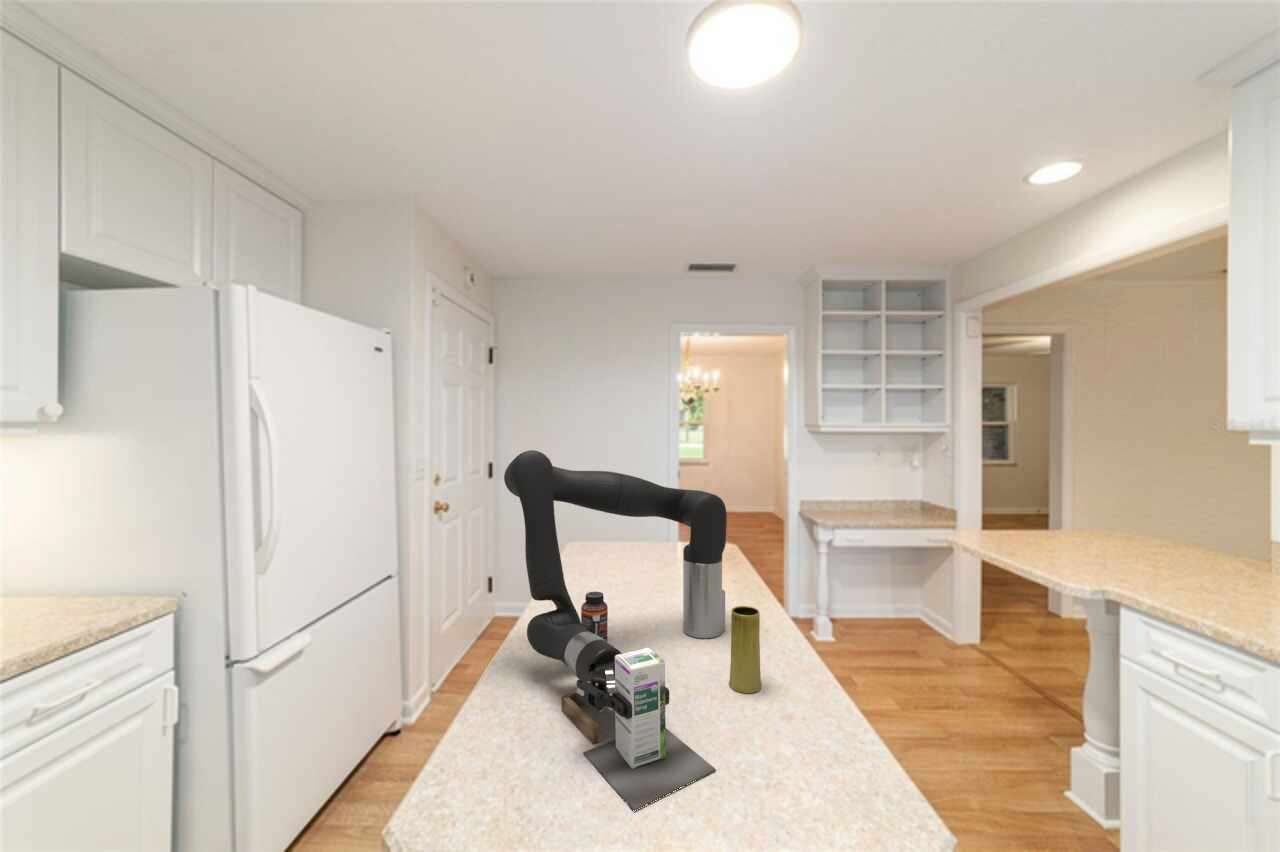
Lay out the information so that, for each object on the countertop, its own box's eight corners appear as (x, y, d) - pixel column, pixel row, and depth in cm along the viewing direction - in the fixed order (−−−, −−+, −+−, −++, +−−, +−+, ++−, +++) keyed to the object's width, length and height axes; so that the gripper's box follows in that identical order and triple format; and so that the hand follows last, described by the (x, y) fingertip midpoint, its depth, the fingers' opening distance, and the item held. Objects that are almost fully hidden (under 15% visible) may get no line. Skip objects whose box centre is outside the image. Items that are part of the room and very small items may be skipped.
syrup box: (631, 770, 74) (632, 669, 74) (614, 747, 79) (614, 652, 79) (666, 758, 77) (666, 660, 77) (647, 736, 82) (647, 645, 82)
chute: (549, 715, 89) (549, 700, 89) (619, 691, 96) (619, 677, 96) (634, 812, 67) (634, 792, 67) (715, 771, 74) (715, 753, 74)
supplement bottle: (603, 651, 113) (603, 599, 113) (577, 648, 114) (577, 597, 114) (610, 639, 119) (610, 590, 119) (585, 637, 120) (585, 589, 120)
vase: (763, 680, 100) (763, 607, 100) (759, 696, 95) (760, 618, 94) (731, 675, 102) (731, 603, 102) (726, 690, 97) (726, 614, 96)
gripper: (555, 649, 86) (606, 694, 72) (629, 630, 94) (687, 666, 80) (555, 694, 86) (606, 748, 72) (629, 671, 94) (687, 715, 80)
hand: (649, 705), depth 76 cm, fingers closed on syrup box, 6 cm apart
